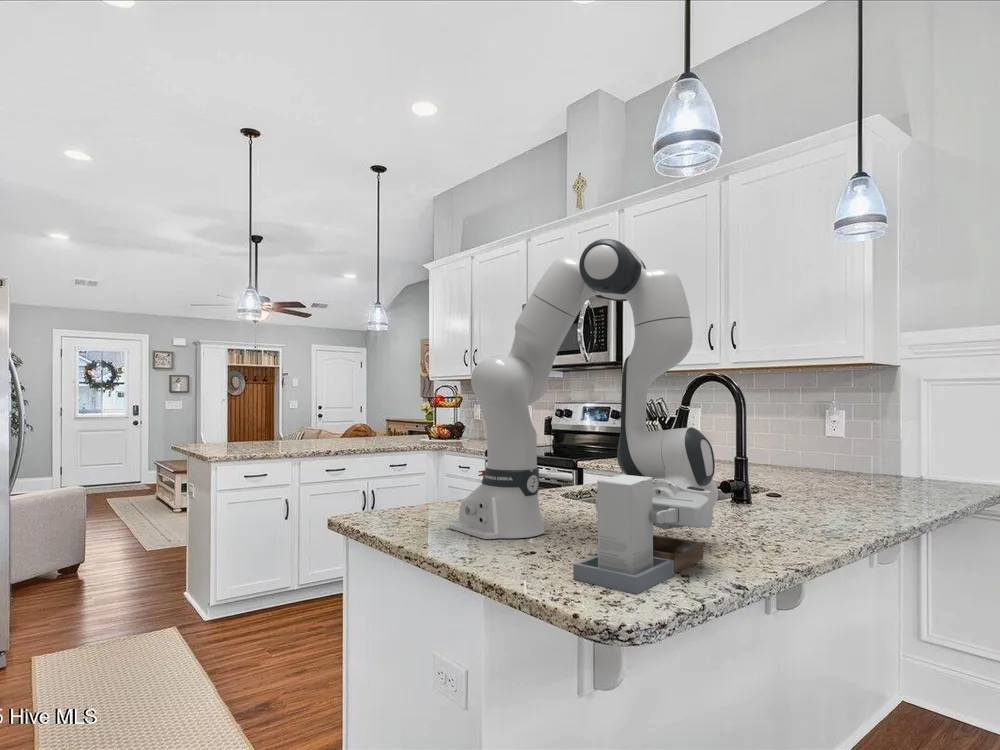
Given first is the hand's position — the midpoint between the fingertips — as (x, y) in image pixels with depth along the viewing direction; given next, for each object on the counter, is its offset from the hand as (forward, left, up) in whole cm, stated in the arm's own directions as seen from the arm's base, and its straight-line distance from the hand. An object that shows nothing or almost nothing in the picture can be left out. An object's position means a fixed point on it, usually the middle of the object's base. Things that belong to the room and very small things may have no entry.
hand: (629, 514), depth 101 cm
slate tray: (0, -2, -10) cm, 10 cm away
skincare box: (0, -2, -9) cm, 10 cm away
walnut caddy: (0, +12, -10) cm, 15 cm away
